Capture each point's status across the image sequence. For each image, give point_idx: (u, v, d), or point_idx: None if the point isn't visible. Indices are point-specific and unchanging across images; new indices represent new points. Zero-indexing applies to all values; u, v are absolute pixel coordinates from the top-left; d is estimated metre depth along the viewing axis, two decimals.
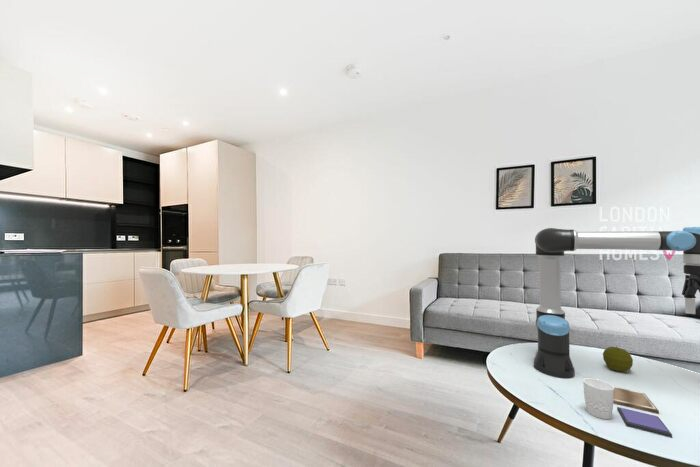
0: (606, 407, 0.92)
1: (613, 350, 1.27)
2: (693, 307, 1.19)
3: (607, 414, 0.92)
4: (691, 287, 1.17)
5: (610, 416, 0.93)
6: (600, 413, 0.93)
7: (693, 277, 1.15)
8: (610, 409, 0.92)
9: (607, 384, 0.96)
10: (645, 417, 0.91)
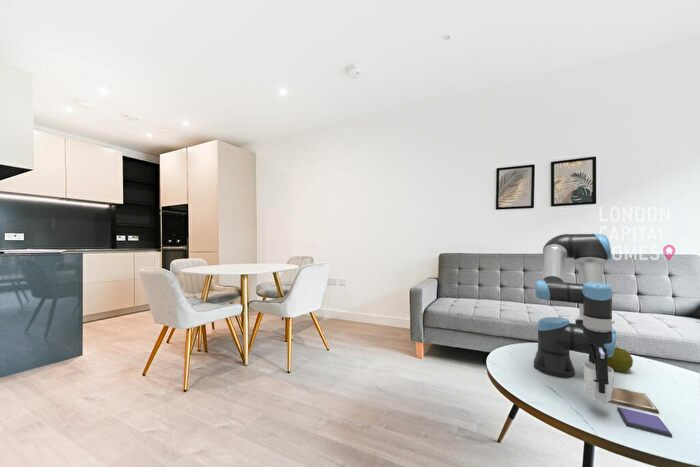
0: None
1: None
2: None
3: None
4: None
5: (610, 398, 0.93)
6: None
7: None
8: (610, 391, 0.93)
9: None
10: (645, 417, 0.91)
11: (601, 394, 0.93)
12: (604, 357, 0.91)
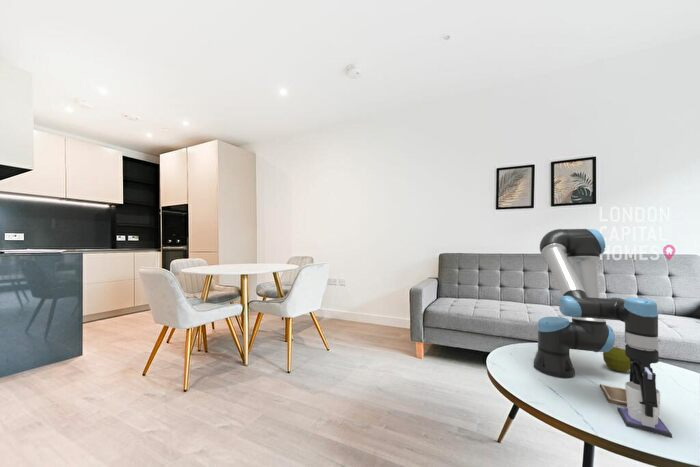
0: None
1: (613, 350, 1.27)
2: None
3: None
4: (636, 375, 0.93)
5: (656, 422, 0.88)
6: None
7: None
8: (656, 414, 0.88)
9: None
10: None
11: (648, 418, 0.87)
12: (651, 378, 0.85)
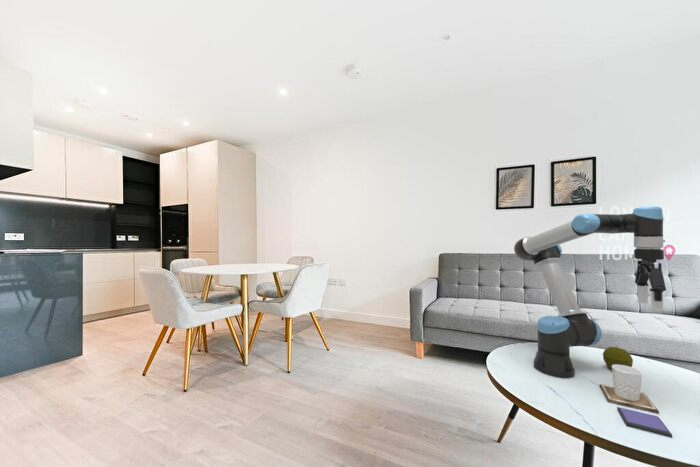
0: (634, 390, 1.01)
1: (613, 350, 1.27)
2: (645, 296, 1.08)
3: (635, 396, 1.01)
4: (642, 273, 1.07)
5: (638, 398, 1.01)
6: (629, 395, 1.02)
7: (644, 262, 1.05)
8: (638, 392, 1.01)
9: (634, 369, 1.05)
10: (645, 417, 0.91)
11: (657, 303, 0.97)
12: (658, 267, 0.98)
